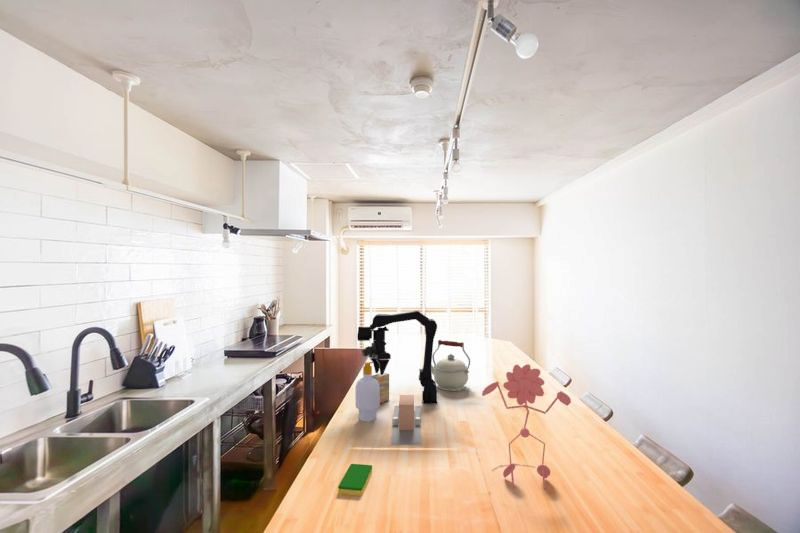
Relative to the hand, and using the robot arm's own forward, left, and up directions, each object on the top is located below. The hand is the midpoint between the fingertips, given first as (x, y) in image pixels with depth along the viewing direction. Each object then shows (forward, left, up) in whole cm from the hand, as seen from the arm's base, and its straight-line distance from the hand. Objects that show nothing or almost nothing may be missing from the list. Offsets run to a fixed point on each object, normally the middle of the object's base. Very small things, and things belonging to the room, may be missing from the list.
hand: (379, 373), depth 190 cm
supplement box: (0, -3, -14) cm, 15 cm away
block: (-13, +26, -14) cm, 32 cm away
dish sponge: (+2, +69, -15) cm, 70 cm away
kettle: (-35, -27, -14) cm, 47 cm away
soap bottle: (+3, +19, -14) cm, 24 cm away
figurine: (-50, +65, -14) cm, 83 cm away
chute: (-13, +28, -14) cm, 34 cm away
